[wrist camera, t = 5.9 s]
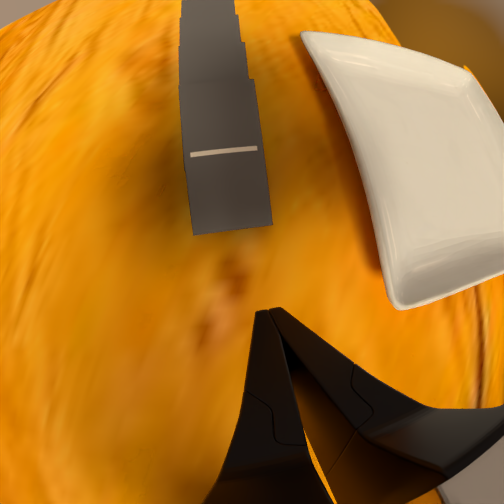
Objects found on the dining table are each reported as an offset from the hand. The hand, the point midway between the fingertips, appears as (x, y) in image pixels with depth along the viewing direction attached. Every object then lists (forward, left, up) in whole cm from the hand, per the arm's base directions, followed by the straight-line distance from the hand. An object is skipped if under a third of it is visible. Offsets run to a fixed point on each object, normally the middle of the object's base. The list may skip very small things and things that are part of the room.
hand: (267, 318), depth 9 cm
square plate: (+26, -1, -10) cm, 28 cm away
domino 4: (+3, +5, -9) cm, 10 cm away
